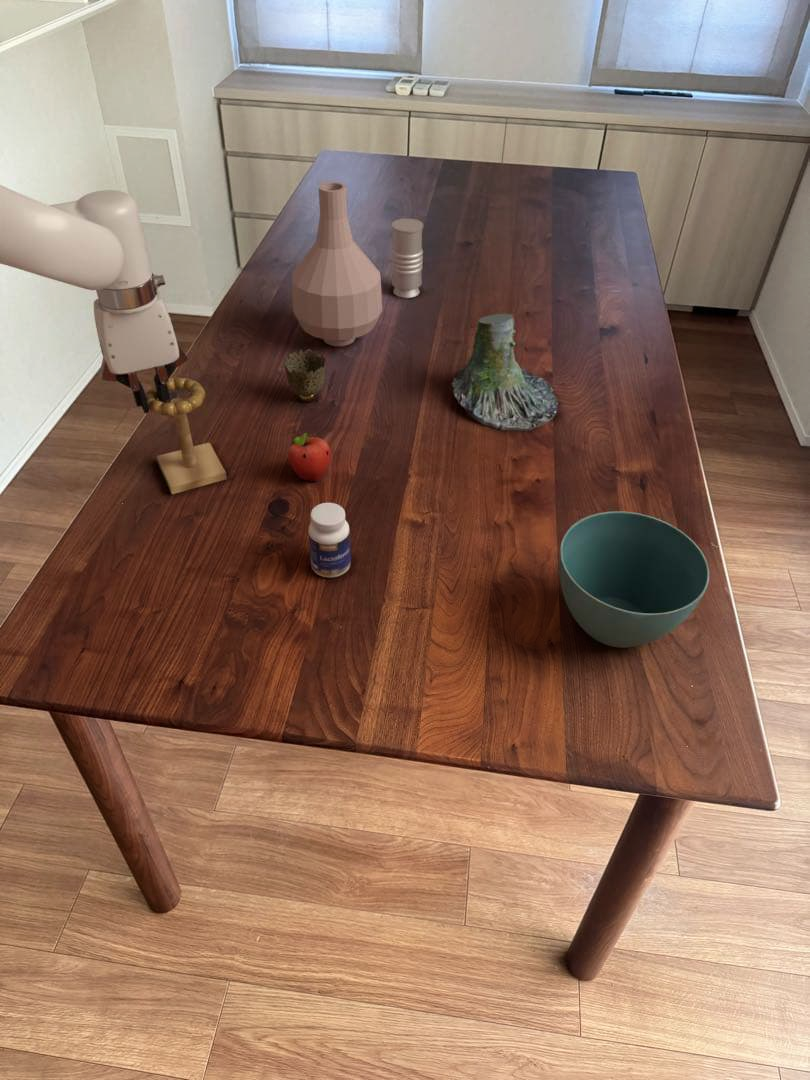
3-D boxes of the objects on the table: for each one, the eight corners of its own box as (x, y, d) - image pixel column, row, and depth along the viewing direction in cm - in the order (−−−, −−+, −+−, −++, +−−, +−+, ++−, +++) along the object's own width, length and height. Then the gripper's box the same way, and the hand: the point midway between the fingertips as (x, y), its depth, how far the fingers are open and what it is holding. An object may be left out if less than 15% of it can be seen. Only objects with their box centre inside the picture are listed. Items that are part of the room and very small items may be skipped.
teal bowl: (664, 574, 114) (686, 510, 105) (701, 677, 100) (730, 613, 92) (538, 575, 113) (550, 510, 105) (558, 679, 100) (574, 614, 91)
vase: (313, 312, 170) (303, 165, 149) (392, 324, 167) (393, 175, 146) (282, 352, 158) (267, 198, 137) (367, 366, 154) (364, 210, 134)
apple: (287, 466, 131) (281, 415, 124) (328, 460, 132) (324, 410, 125) (294, 495, 125) (289, 444, 119) (336, 489, 127) (334, 437, 120)
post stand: (171, 494, 125) (154, 423, 116) (157, 463, 131) (140, 393, 122) (227, 479, 128) (214, 408, 119) (210, 449, 134) (197, 379, 125)
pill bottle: (322, 584, 111) (318, 532, 104) (304, 560, 115) (298, 508, 108) (358, 569, 114) (356, 517, 107) (339, 546, 117) (336, 494, 110)
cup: (336, 398, 146) (334, 359, 140) (306, 414, 142) (302, 375, 136) (309, 383, 150) (306, 344, 144) (279, 398, 146) (274, 359, 140)
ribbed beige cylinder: (420, 284, 181) (422, 218, 170) (422, 298, 176) (424, 231, 165) (390, 284, 180) (390, 218, 170) (391, 298, 175) (391, 231, 165)
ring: (154, 423, 116) (152, 413, 115) (139, 394, 122) (137, 383, 120) (212, 408, 119) (211, 398, 118) (195, 380, 125) (194, 370, 123)
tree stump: (499, 447, 136) (488, 347, 127) (434, 416, 151) (420, 325, 142) (579, 410, 143) (574, 313, 133) (510, 384, 158) (501, 295, 149)
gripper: (177, 268, 112) (199, 381, 124) (59, 290, 106) (95, 406, 119) (192, 290, 107) (213, 406, 119) (69, 314, 101) (105, 432, 114)
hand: (153, 405), depth 119 cm, fingers closed on ring, 2 cm apart
